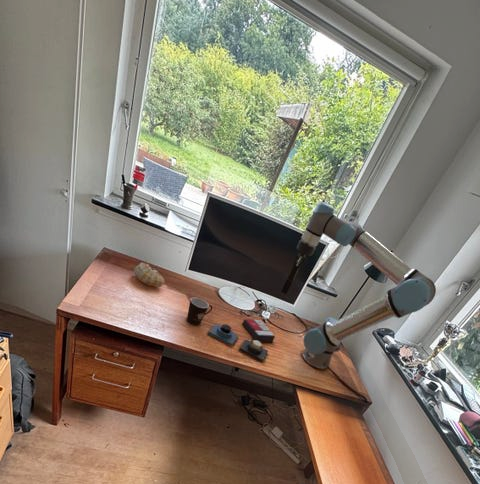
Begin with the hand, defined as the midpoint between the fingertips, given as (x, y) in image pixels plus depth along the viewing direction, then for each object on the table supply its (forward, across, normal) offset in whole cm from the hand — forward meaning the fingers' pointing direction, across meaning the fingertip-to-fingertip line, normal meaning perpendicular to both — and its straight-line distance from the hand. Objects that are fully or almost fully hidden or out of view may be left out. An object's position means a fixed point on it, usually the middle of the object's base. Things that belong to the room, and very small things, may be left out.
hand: (283, 292), depth 161 cm
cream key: (+21, +20, 0) cm, 29 cm away
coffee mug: (+25, +20, -30) cm, 44 cm away
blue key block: (+24, +20, -16) cm, 35 cm away
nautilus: (+25, +5, -64) cm, 69 cm away
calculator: (+25, +1, -3) cm, 25 cm away
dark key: (+21, +20, -16) cm, 33 cm away
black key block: (+24, +20, 0) cm, 32 cm away
